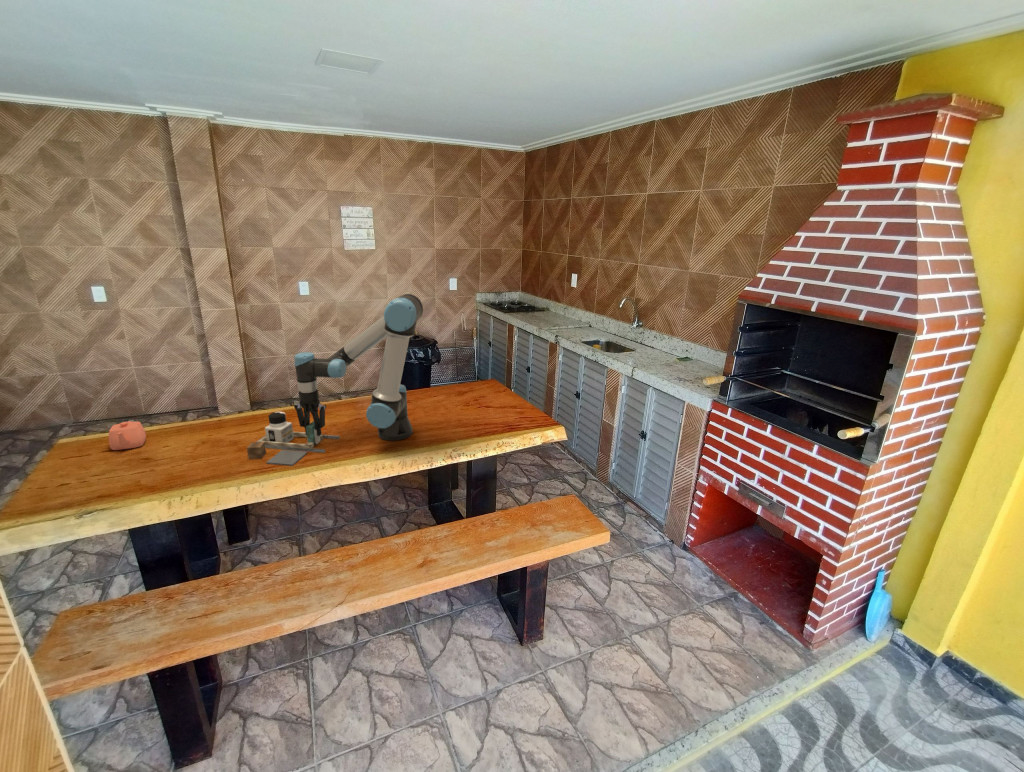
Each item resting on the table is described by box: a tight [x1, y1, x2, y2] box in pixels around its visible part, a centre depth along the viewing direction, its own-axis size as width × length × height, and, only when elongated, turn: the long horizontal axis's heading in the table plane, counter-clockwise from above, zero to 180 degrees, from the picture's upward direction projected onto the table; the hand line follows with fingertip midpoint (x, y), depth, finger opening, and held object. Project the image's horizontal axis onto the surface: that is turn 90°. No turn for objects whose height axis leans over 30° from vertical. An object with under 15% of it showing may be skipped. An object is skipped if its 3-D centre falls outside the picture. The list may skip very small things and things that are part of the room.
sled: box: [257, 420, 325, 448], centre depth 210 cm, size 23×12×9 cm, turn 82°
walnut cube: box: [246, 441, 267, 460], centre depth 198 cm, size 5×5×5 cm
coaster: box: [266, 449, 308, 467], centre depth 197 cm, size 11×11×1 cm
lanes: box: [255, 434, 341, 454], centre depth 211 cm, size 32×14×1 cm, turn 82°
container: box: [264, 411, 295, 443], centre depth 210 cm, size 8×8×13 cm
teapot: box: [108, 420, 147, 451], centre depth 203 cm, size 12×18×10 cm, turn 25°
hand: (314, 441), depth 210 cm, fingers closed on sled, 2 cm apart
